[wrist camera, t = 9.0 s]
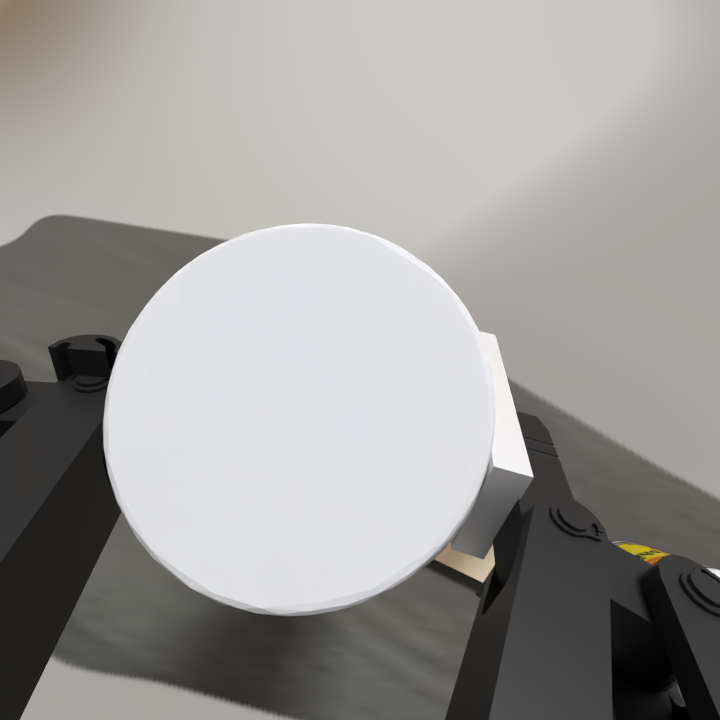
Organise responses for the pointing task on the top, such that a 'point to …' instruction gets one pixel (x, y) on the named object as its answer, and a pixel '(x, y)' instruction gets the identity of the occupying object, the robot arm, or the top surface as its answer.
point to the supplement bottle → (299, 420)
